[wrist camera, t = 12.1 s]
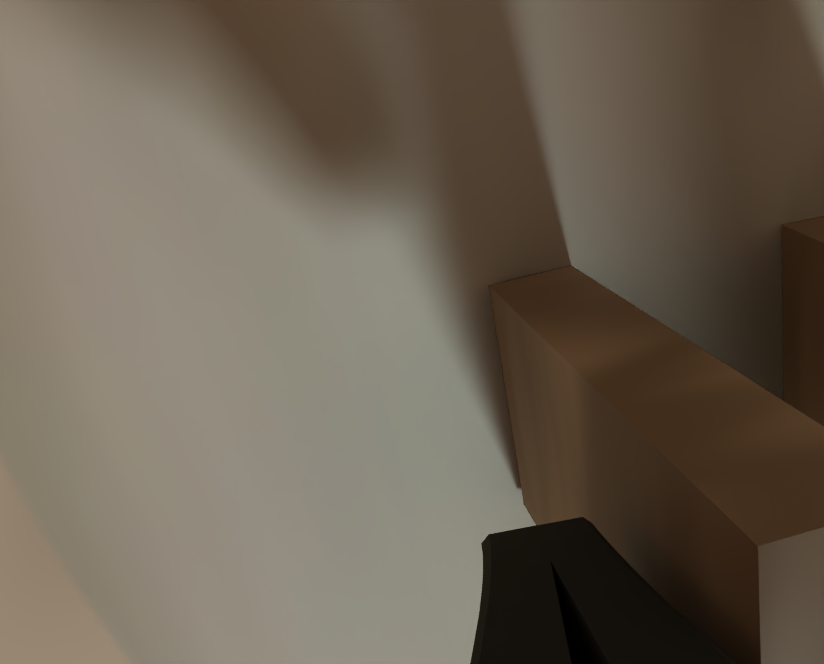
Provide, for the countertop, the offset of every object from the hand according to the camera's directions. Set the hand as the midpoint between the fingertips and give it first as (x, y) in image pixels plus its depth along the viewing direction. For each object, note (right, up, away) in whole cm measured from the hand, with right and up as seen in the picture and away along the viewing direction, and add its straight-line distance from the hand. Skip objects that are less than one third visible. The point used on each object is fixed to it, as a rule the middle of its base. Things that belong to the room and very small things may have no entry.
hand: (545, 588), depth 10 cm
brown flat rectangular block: (+1, +2, +5) cm, 5 cm away
